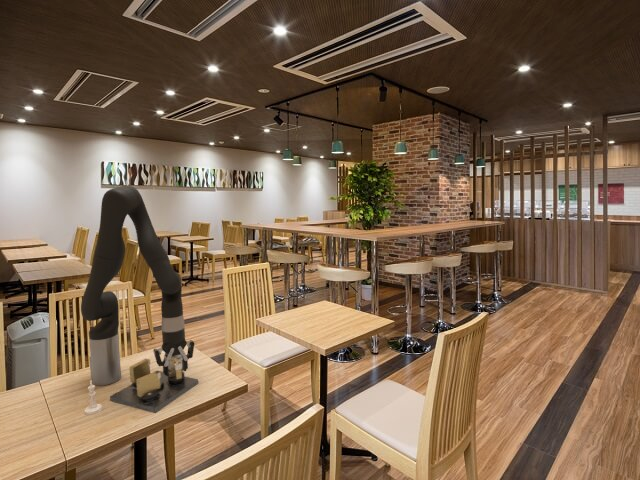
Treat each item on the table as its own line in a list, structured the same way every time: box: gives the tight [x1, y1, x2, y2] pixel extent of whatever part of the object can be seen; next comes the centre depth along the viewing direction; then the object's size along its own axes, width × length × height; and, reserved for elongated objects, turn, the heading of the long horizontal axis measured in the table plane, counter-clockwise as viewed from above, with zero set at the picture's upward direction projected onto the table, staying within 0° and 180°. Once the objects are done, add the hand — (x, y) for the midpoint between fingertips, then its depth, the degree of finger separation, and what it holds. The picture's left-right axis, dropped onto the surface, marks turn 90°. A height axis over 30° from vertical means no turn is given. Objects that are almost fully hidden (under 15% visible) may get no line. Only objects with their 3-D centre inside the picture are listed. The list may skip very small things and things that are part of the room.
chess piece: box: [84, 379, 103, 416], centre depth 118 cm, size 5×5×10 cm
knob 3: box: [168, 357, 186, 384], centre depth 133 cm, size 7×6×8 cm
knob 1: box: [128, 358, 151, 387], centre depth 132 cm, size 7×6×8 cm
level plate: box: [109, 370, 199, 413], centre depth 129 cm, size 20×20×3 cm
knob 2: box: [136, 370, 161, 402], centre depth 122 cm, size 7×6×8 cm
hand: (175, 372), depth 133 cm, fingers open, 5 cm apart
